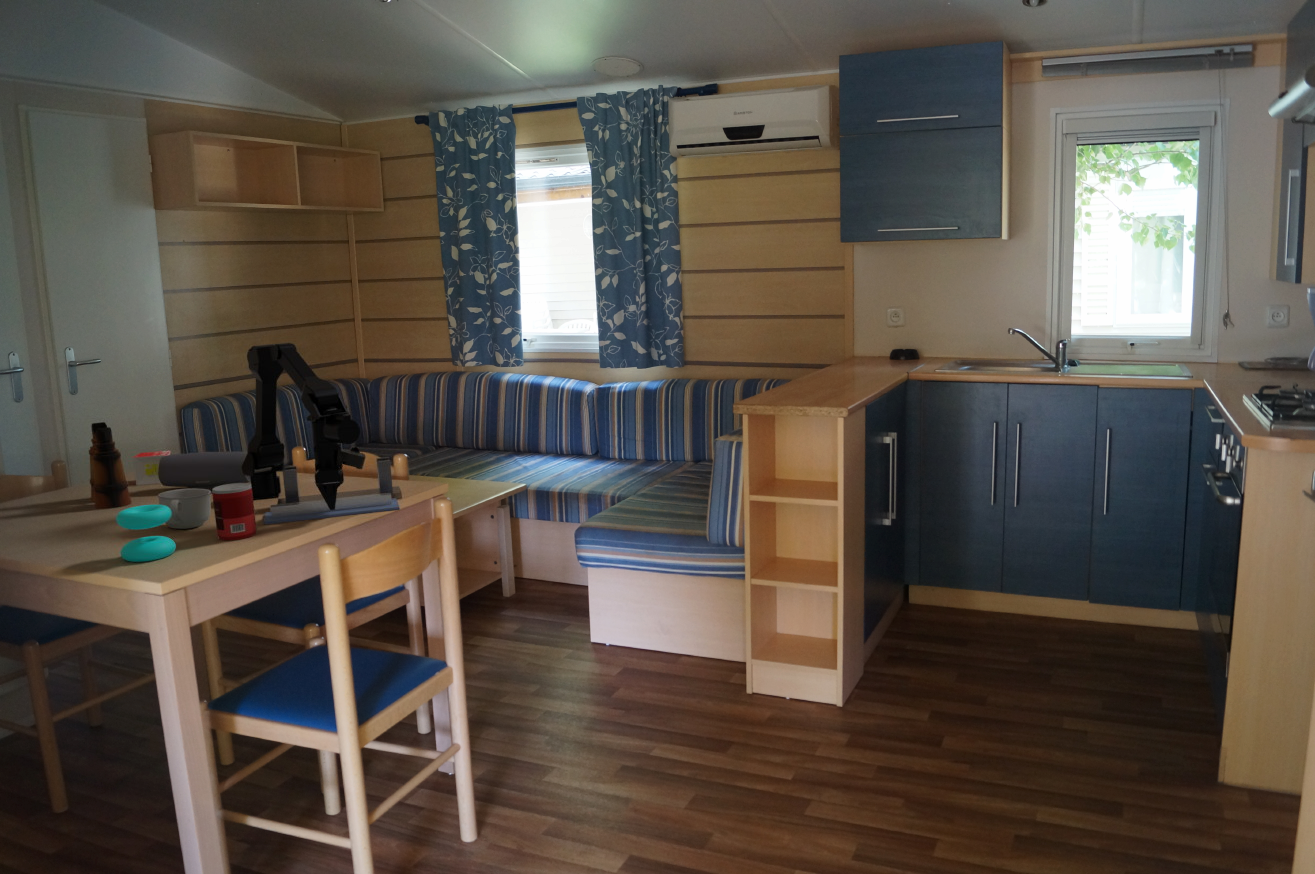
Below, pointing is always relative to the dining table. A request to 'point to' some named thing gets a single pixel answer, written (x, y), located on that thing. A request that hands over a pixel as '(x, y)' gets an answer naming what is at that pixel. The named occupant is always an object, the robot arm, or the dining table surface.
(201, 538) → the dining table surface
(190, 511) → the teacup
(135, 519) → the donuts
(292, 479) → the stand
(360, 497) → the rail
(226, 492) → the canned food
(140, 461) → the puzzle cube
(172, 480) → the bluetooth speaker
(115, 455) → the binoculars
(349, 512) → the mat
